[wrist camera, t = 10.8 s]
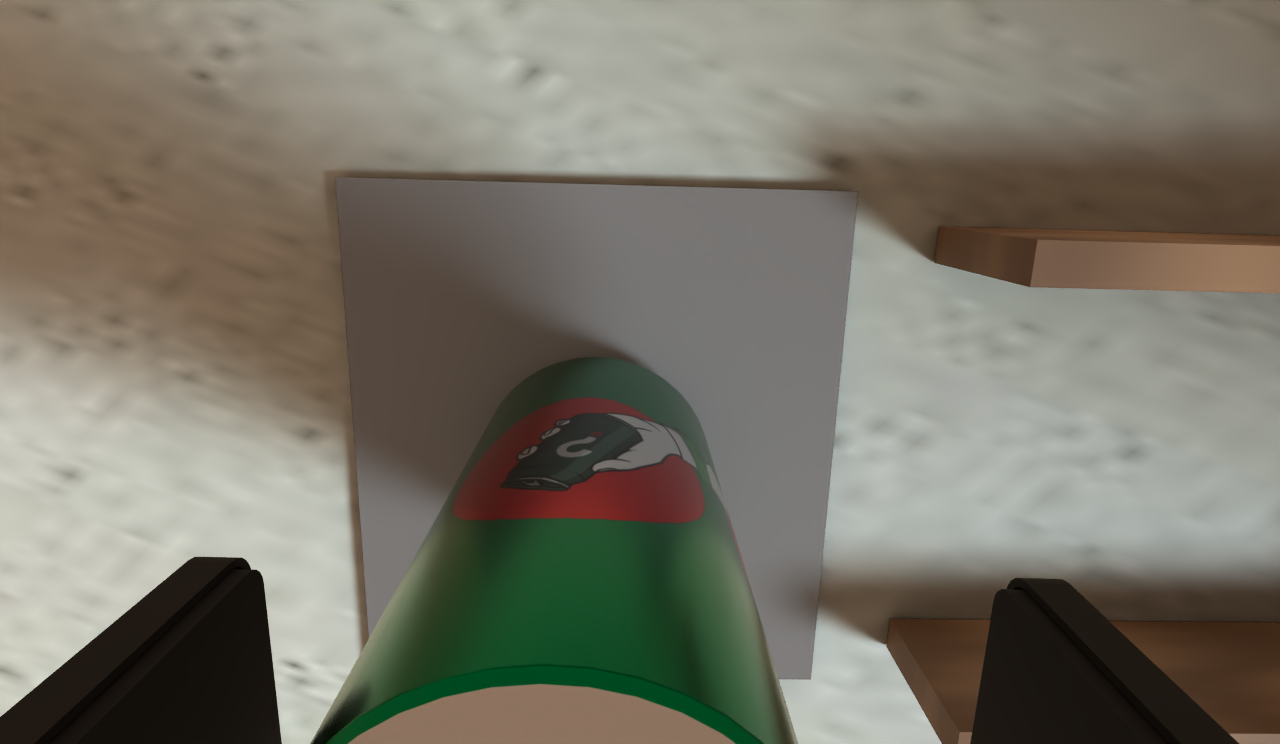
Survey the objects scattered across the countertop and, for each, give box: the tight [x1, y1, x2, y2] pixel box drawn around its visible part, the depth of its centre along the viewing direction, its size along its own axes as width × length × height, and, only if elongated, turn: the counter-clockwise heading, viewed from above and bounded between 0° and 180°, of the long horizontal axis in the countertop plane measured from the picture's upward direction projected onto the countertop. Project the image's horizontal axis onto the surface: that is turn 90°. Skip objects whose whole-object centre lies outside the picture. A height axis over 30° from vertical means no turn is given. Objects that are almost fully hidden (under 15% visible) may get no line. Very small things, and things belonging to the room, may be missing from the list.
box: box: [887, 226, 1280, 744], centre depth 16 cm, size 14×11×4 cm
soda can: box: [311, 357, 798, 744], centre depth 11 cm, size 5×5×12 cm
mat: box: [335, 177, 858, 679], centre depth 17 cm, size 11×12×1 cm
